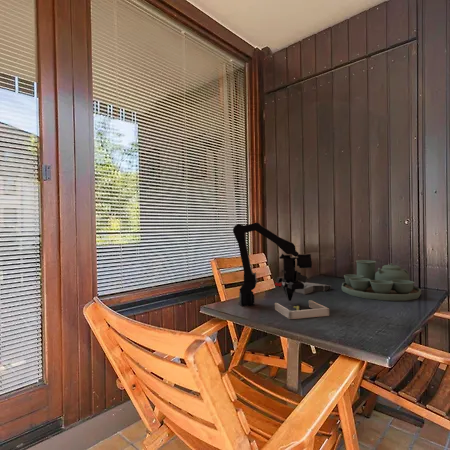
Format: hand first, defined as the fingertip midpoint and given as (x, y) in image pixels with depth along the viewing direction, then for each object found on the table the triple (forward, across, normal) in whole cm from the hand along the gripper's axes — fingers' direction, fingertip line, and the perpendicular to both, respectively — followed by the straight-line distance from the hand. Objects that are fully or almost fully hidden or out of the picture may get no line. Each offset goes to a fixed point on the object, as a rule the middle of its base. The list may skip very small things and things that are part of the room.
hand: (289, 300), depth 147 cm
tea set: (+3, +12, -61) cm, 62 cm away
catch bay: (+2, -11, 0) cm, 11 cm away
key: (+3, -12, +2) cm, 12 cm away
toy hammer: (+3, +35, -23) cm, 42 cm away
